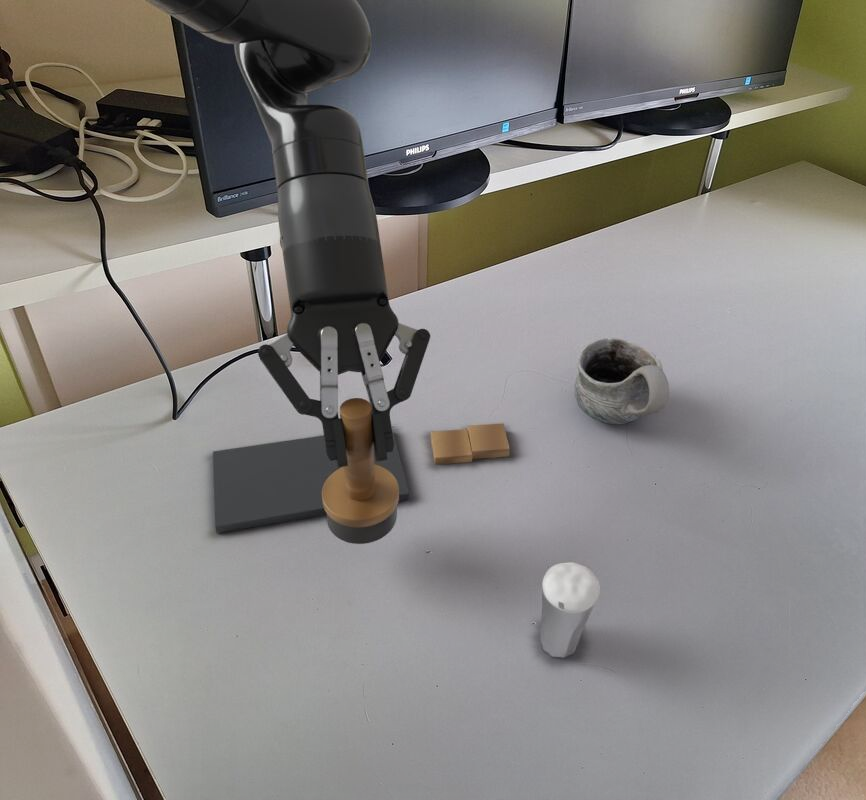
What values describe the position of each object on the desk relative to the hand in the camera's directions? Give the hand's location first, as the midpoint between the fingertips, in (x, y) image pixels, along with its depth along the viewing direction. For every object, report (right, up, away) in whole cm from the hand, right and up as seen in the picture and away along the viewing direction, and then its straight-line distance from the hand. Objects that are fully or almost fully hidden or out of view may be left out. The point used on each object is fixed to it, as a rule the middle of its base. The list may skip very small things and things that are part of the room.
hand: (362, 462), depth 59 cm
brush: (-2, -5, +7) cm, 9 cm away
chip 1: (+4, -1, +23) cm, 23 cm away
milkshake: (+15, -16, +6) cm, 23 cm away
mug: (+23, +3, +29) cm, 38 cm away
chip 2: (+8, 0, +24) cm, 25 cm away
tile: (-9, -3, +17) cm, 20 cm away
